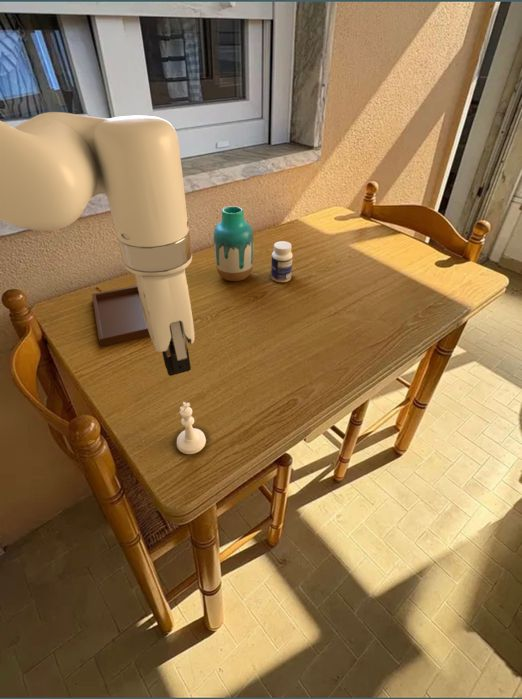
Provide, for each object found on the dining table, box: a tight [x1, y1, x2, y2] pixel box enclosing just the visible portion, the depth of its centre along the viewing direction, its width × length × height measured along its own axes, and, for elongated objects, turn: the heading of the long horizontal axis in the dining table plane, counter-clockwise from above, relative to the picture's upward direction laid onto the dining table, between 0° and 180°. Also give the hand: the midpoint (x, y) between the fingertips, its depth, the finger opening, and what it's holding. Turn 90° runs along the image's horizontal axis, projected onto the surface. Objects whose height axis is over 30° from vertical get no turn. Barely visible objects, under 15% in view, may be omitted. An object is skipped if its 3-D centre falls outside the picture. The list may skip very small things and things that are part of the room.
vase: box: [213, 205, 255, 282], centre depth 101 cm, size 11×11×19 cm
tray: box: [91, 285, 150, 348], centre depth 92 cm, size 14×20×2 cm
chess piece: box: [176, 401, 207, 455], centre depth 62 cm, size 5×5×10 cm
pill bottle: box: [270, 240, 294, 283], centre depth 104 cm, size 6×6×10 cm
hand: (178, 368), depth 54 cm, fingers closed
